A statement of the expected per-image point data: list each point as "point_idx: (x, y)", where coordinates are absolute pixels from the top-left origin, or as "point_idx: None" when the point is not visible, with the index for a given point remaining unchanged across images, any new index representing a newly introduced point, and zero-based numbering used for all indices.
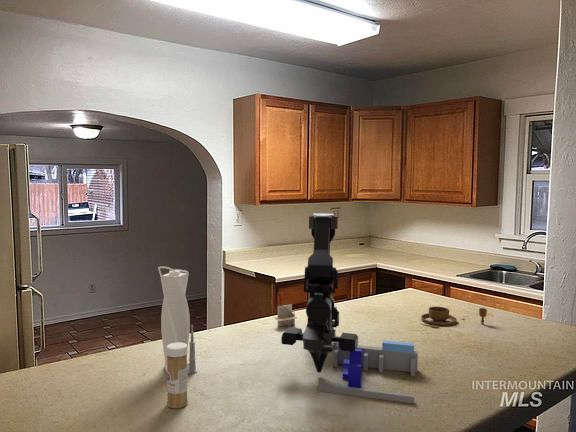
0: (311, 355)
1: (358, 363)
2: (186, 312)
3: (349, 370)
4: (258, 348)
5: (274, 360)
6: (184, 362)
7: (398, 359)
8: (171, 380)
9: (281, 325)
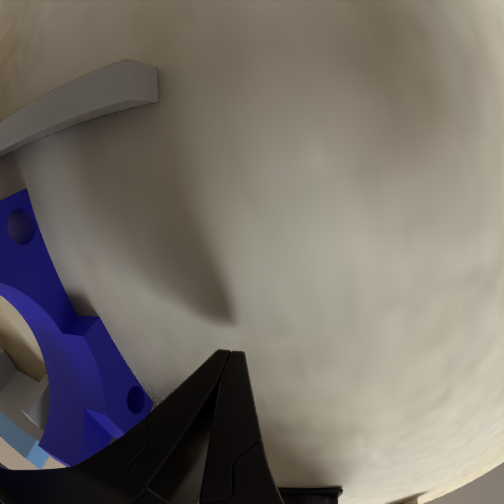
0: (276, 494)
1: (56, 400)
2: None
3: None
4: (498, 434)
5: (484, 404)
6: None
7: (18, 402)
8: None
9: (408, 502)
